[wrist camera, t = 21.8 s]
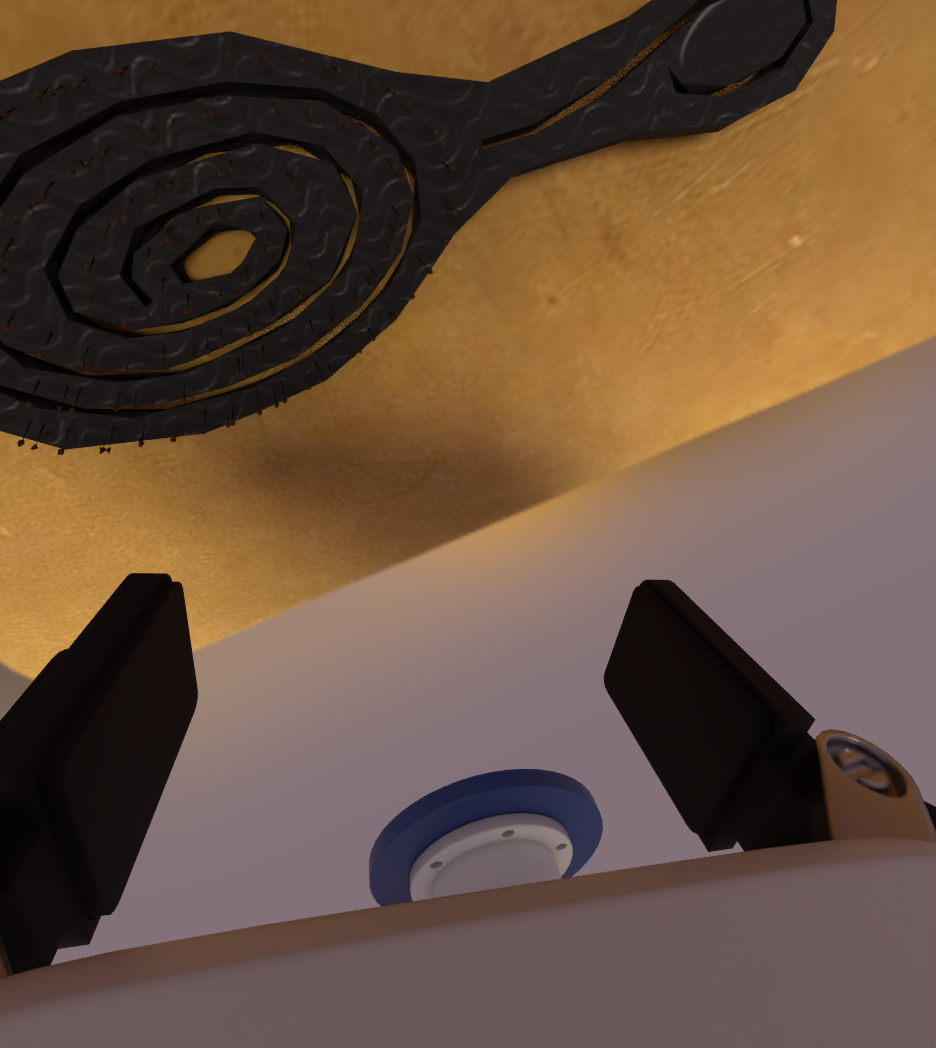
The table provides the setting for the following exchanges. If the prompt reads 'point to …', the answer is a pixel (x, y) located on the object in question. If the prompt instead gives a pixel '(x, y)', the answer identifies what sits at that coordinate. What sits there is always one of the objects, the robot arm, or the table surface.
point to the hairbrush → (298, 195)
